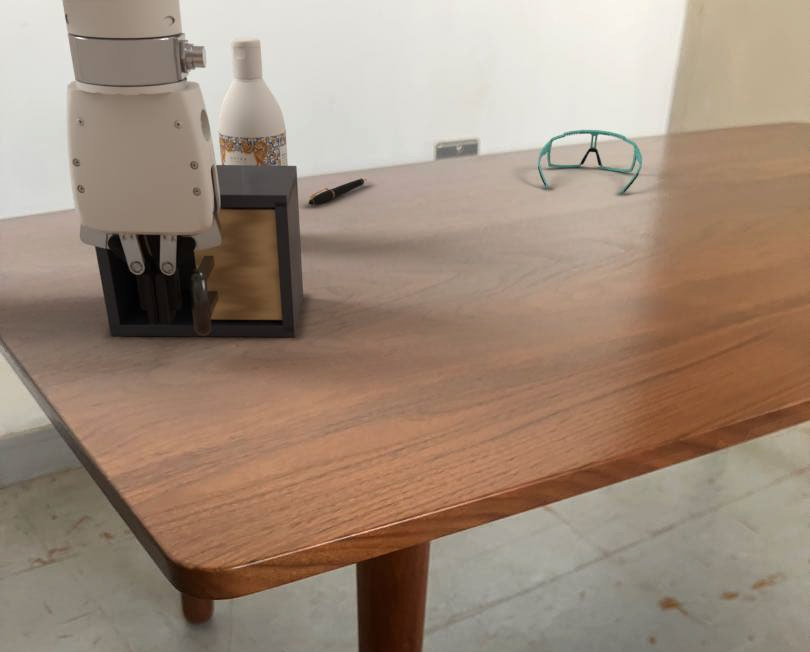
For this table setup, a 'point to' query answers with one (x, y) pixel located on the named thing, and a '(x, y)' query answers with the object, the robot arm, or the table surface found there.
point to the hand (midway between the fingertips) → (163, 317)
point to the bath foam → (250, 113)
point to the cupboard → (120, 284)
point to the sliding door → (238, 271)
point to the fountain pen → (334, 192)
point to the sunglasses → (592, 149)
